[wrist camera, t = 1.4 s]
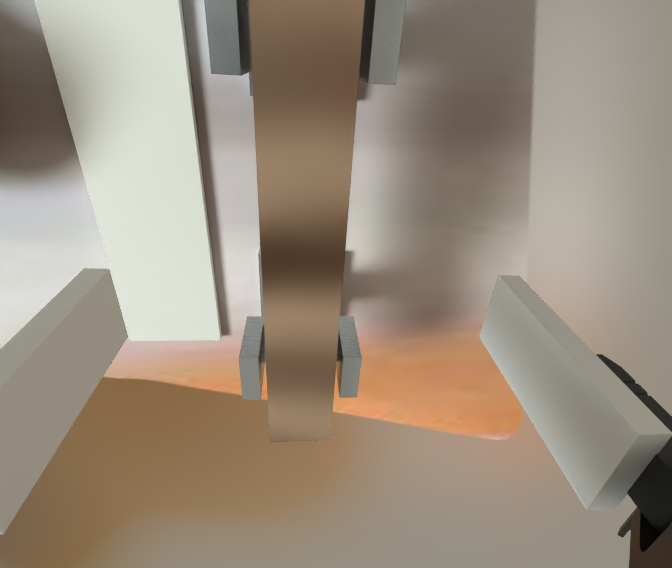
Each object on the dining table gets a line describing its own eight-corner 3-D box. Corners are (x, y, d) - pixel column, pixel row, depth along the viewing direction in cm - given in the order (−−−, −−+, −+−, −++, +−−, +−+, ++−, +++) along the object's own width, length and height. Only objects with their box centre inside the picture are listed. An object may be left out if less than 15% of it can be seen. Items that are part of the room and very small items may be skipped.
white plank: (9, -113, 17) (0, -118, 17) (169, -97, 18) (165, -101, 18) (132, 336, 31) (129, 340, 30) (221, 335, 31) (220, 340, 31)
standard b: (240, -38, 19) (193, -106, 11) (366, -26, 20) (416, -83, 12) (247, 94, 22) (216, 120, 14) (356, 100, 23) (390, 128, 15)
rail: (254, -151, 13) (237, -226, 9) (359, -138, 13) (381, -206, 10) (274, 400, 26) (270, 452, 23) (325, 399, 26) (329, 450, 23)
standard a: (255, 249, 28) (236, 337, 19) (345, 250, 28) (364, 336, 20) (259, 316, 31) (244, 417, 22) (339, 316, 31) (354, 414, 23)
